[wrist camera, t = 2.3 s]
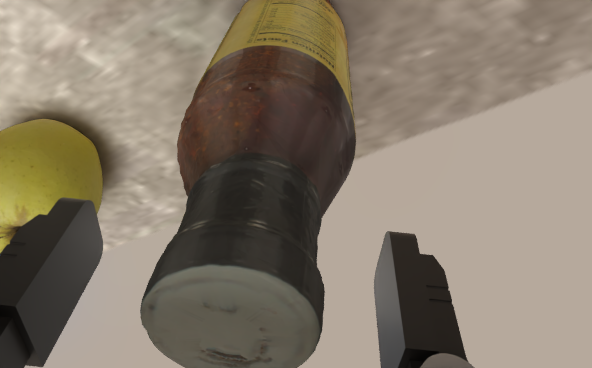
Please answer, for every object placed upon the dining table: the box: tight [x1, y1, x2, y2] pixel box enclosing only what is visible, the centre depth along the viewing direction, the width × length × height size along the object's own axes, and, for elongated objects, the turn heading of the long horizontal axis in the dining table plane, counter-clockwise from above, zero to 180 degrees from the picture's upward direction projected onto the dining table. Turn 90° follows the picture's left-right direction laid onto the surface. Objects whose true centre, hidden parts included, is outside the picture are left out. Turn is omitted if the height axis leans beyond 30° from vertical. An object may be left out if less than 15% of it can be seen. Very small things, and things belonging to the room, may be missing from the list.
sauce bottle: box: [140, 0, 356, 368], centre depth 18 cm, size 7×6×20 cm
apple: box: [0, 119, 103, 253], centre depth 29 cm, size 8×8×10 cm
